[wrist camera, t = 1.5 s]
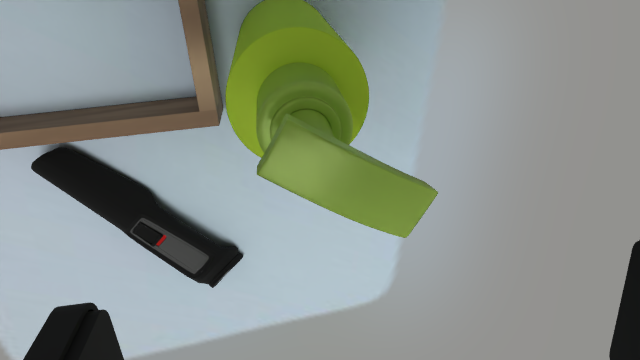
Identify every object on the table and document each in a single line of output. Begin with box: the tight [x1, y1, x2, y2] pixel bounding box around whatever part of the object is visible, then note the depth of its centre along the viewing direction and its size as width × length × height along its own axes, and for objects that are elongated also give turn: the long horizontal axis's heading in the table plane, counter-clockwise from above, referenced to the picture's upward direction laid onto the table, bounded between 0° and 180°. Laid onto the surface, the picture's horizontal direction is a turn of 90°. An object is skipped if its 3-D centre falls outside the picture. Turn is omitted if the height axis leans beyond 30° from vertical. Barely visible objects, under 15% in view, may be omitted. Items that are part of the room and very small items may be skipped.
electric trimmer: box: [31, 147, 243, 288], centre depth 35 cm, size 4×16×3 cm, turn 47°
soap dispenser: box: [226, 0, 438, 238], centre depth 23 cm, size 6×7×20 cm
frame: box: [0, 0, 223, 150], centre depth 28 cm, size 13×18×4 cm
